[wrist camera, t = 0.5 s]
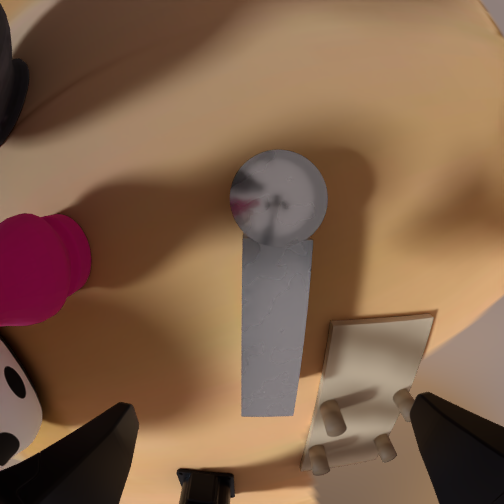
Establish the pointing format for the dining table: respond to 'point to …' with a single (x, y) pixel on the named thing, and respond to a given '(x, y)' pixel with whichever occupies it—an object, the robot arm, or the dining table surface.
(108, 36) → the dining table surface
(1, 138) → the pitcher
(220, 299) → the dining table surface
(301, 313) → the round-headed grey paddle
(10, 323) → the pepper mill
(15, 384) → the milk container
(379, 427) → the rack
